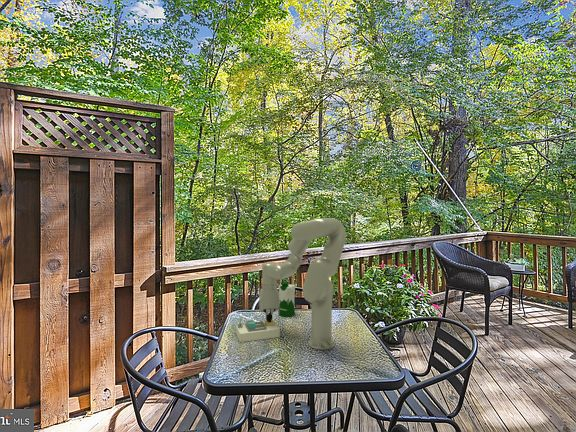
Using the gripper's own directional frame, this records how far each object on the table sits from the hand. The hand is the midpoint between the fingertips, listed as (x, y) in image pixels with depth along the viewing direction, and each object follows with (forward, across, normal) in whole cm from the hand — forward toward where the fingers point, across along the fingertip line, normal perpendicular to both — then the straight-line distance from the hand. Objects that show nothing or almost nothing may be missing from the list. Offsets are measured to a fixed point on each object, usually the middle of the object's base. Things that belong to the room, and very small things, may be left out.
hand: (269, 321), depth 170 cm
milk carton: (+6, -17, -22) cm, 29 cm away
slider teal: (+1, +10, +5) cm, 12 cm away
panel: (+5, +7, +3) cm, 9 cm away
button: (+5, 0, 0) cm, 5 cm away
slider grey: (+1, +10, 0) cm, 10 cm away
